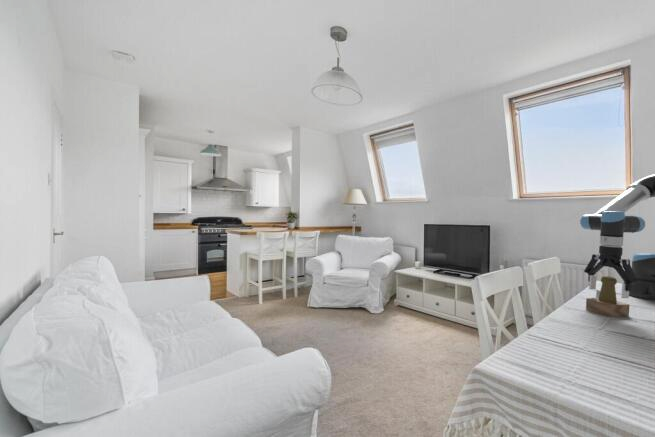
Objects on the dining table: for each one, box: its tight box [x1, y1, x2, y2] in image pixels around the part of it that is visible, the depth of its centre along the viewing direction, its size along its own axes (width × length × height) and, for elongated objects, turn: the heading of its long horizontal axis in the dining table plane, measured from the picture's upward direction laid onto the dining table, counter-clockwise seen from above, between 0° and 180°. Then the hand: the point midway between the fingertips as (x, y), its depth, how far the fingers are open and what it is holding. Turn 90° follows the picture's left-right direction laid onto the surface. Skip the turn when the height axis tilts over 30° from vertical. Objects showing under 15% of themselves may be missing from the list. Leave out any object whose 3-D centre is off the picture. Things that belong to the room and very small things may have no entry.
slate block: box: [595, 289, 601, 298], centre depth 147 cm, size 5×5×6 cm
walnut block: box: [585, 297, 630, 318], centre depth 134 cm, size 10×10×5 cm
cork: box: [598, 275, 618, 303], centre depth 134 cm, size 6×6×11 cm
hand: (607, 293), depth 134 cm, fingers open, 13 cm apart
